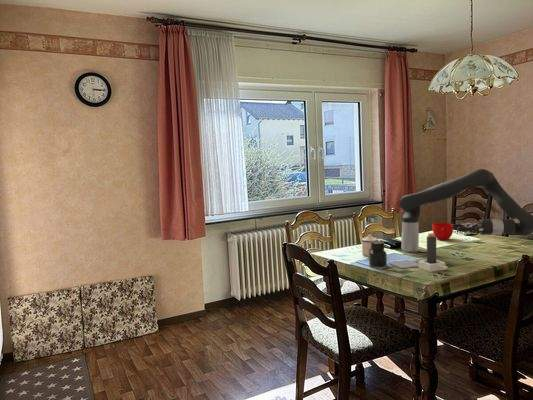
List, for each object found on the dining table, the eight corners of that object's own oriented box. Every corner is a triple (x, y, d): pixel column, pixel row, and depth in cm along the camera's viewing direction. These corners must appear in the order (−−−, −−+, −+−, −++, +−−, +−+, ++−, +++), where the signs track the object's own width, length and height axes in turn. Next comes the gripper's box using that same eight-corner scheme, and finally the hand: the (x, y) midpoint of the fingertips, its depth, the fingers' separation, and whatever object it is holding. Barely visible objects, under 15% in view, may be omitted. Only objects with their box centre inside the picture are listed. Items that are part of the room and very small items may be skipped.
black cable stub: (424, 268, 208) (424, 233, 206) (432, 267, 209) (432, 232, 207) (430, 270, 203) (430, 234, 202) (438, 269, 205) (438, 233, 203)
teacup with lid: (370, 257, 234) (369, 237, 233) (358, 254, 242) (358, 234, 241) (385, 254, 241) (384, 234, 240) (373, 251, 248) (372, 232, 247)
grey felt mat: (387, 263, 219) (387, 262, 219) (407, 260, 223) (407, 260, 223) (401, 268, 208) (401, 267, 208) (421, 266, 212) (421, 265, 212)
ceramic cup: (431, 242, 268) (431, 226, 267) (432, 237, 284) (432, 222, 283) (453, 242, 263) (453, 227, 262) (453, 237, 279) (453, 222, 278)
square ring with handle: (418, 267, 209) (418, 260, 209) (432, 265, 212) (432, 258, 211) (438, 274, 195) (438, 267, 195) (454, 272, 198) (454, 265, 197)
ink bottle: (385, 262, 222) (385, 240, 221) (389, 266, 213) (389, 243, 212) (367, 263, 222) (366, 240, 221) (370, 267, 214) (369, 244, 212)
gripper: (484, 217, 207) (450, 218, 209) (496, 221, 193) (460, 222, 195) (485, 232, 208) (451, 233, 210) (497, 237, 194) (460, 238, 196)
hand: (455, 227), depth 203 cm, fingers open, 8 cm apart
